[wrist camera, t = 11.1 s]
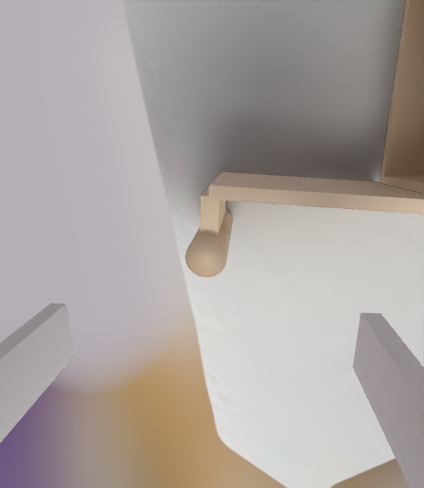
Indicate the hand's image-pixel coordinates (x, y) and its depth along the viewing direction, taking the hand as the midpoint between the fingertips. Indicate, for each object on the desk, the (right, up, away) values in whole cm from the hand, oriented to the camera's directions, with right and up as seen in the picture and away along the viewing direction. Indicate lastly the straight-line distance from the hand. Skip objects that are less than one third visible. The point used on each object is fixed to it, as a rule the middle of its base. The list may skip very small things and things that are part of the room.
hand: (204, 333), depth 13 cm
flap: (+7, +7, +14) cm, 17 cm away
